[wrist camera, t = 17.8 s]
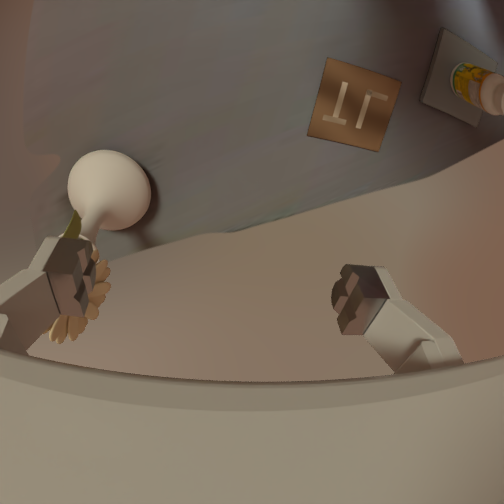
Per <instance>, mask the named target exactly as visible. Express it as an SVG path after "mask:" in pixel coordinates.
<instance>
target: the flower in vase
mask: <svg viewBox="0 0 504 504" xmlns="http://www.w3.org/2000/svg"><path fill="white" fill-rule="evenodd" d="M68 196H69V199H70V202H71V205H72V206H73V208H74V210H75V211H74V214H73V217H72V219H71V221H70V224H69V226H68V227H67V229H66V231H65V233H64V234H62V235H60V236H59V237H61V238H62V237H65V238H73V239H81V240H89V241H91V242H92V247H93V253H92V255H91V258H92V259H93V260H94V261H95V265H96V280H95V285H94V288H93V291H92V292H90V293H89V294H88V299H89V303H88V306H87V309H86V313H85V316H84V317H76V316H68V315H60V317H59V318H58V319H57V320H56V321H55V322H54V323H53V324H52V325H51V326H50V327H49V328H48V329H47V330H46V331H45V332H44V333H43V334H45V333H47V331H49V330H50V334H49V339H50V341H55V340H56V342H57V344H61V343H63V341H64V339H65V338H66V336H67V333H68V336H69V339H70V340H71V341H74V340H76V338H77V337H78V334H80V333H82V332H83V331H84V330H85V327H86V325H87V323H88V319H91V320H94V319H96V318H97V317H98V315H99V310H98V307H99V306H100V304H101V303H103V302H104V300H105V298H106V296H105V294H106V293H107V292H108V291H109V290H110V288H111V284H110V283H108V282H104V281H105V280H106V278H107V277H108V276H109V275H110V268H108V267H107V264H108V261H107V260H102V261H100V262H99V252H98V250H97V248H96V246H95V241H96V236H97V233H98V230H99V228H100V229H104V230H121V229H125V228H127V227H130V226H132V225H133V224H135V223H136V222H137V221H139V220H140V219H141V218H142V217H143V216H144V214H145V213H146V211H147V209H148V207H149V204H150V200H151V188H150V183H149V180H148V178H147V176H146V174H145V172H144V171H143V169H142V168H141V167H140V166H139V165H138V164H137V163H136V162H135V161H134V160H133V159H131V158H130V157H128V156H127V155H125V154H122V153H120V152H116V151H112V150H98V151H94V152H91V153H88V154H86V155H84V156H83V157H82V158H80V159H79V160H78V161H77V162H76V163H75V165H74V166H73V168H72V170H71V172H70V175H69V179H68ZM80 217H81V218H82V220H81V219H80ZM87 318H88V319H87Z"/></svg>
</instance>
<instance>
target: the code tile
mask: <svg viewBox="0 0 504 504" xmlns="http://www.w3.org/2000/svg"><path fill="white" fill-rule="evenodd" d="M401 83H402V82H400V81H397V80H395V79H392V78H390V77H387V76H384V75H381V74H379V73H376V72H373V71H370V70H367V69H364V68H361V67H358V66H355V65H352V64H348V63H345V62H342V61H338V60H335V59H331V58H328V57H327V61H326V65H325V69H324V73H323V77H322V80H321V84H320V88H319V92H318V96H317V99H316V103H315V107H314V111H313V114H312V118H311V122H310V125H309V129H308V133H307V136H313V137H317V138H322V139H327V140H332V141H336V142H340V143H345V144H349V145H353V146H357V147H362V148H366V149H369V150H373V151H377V152H378V151H379V149H380V146H381V143H382V140H383V137H384V134H385V132H386V129H387V126H388V123H389V120H390V117H391V114H392V111H393V108H394V105H395V102H396V99H397V96H398V92H399V89H400V86H401Z"/></svg>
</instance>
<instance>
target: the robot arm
mask: <svg viewBox="0 0 504 504" xmlns="http://www.w3.org/2000/svg"><path fill="white" fill-rule="evenodd" d="M92 253H93V247H92V242H91V241H89V240H81V239H73V238H65V237H62V238H61V237H54V236H48V237H46V238H45V240H44V242H43V243H42V245H41V247H40V248H39V250H38V252H37V253H36V255H35V257H34V259H33V260H32V262H31V264H30V266H29V268H28V269H27V270H26V269H23V270H22V271H20V272H19V273H17V274H16V275H14V276H13V277H11V278H10V279H8V280H7V281H5V282H4V283H2V284H1V285H0V504H504V355H502V356H498V357H494V358H490V359H485V360H480V361H475V362H470V363H465V364H464V362H463V360H462V358H461V356H460V353H459V351H458V349H457V347H456V345H455V343H454V341H453V339H452V338H451V337H450V336H449V335H448V334H447V333H446V332H444V331H443V330H442V329H441V328H440V327H438V326H437V325H436V324H435V323H434V322H433V321H431V320H430V319H429V318H428V317H427V316H425V315H424V314H423V313H422V312H421V311H419V310H418V309H417V308H416V307H414V306H413V305H412V304H411V303H409V302H408V301H407V300H403V299H402V297H401V295H400V293H399V291H398V289H397V287H396V285H395V283H394V282H393V280H392V278H391V276H390V274H389V272H388V270H387V269H386V268H385V267H382V266H363V265H350V264H346V265H345V266H344V267H343V268H342V270H341V272H340V274H341V277H342V278H341V279H340V280H338V281H337V282H336V283H335V284H334V287H333V289H332V296H331V300H332V305H333V309H334V310H335V311H336V312H337V313H338V314H339V316H338V318H337V321H338V325H339V328H340V331H341V333H342V335H363V337H364V338H365V339H366V340H367V341H368V342H369V344H370V345H371V346H372V347H373V348H374V349H375V350H376V351H377V353H378V354H379V355H380V356H381V357H382V358H383V359H384V361H385V362H386V363H387V364H388V365H389V366H390V367H391V369H392V370H393V371H394V372H395V373H394V374H393V375H385V376H376V377H365V378H352V379H338V380H321V381H295V382H294V381H292V382H241V381H240V382H239V381H213V380H195V379H181V378H169V377H158V376H148V375H140V374H131V373H123V372H116V371H109V370H102V369H96V368H89V367H83V366H78V365H72V364H67V363H61V362H56V361H51V360H46V359H42V358H37V357H33V356H29V355H28V353H27V352H26V350H27V349H28V348H29V347H30V346H31V345H32V344H33V343H34V342H35V341H36V340H37V339H38V338H39V337H40V335H42V334H43V333H44V332H45V331H46V330H47V329H48V328H49V327H50V326H51V325H52V324H53V323H54V322H55V321H56V320H57V319H58V318H59V317H60V315H68V316H76V317H84V316H85V313H86V309H87V306H88V303H89V299H88V294H89V293H90V292H92V291H93V288H94V285H95V280H96V265H95V261H94V260H93V259H92V258H91V255H92Z"/></svg>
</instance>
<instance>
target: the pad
mask: <svg viewBox="0 0 504 504" xmlns="http://www.w3.org/2000/svg"><path fill="white" fill-rule="evenodd" d="M459 63H470V64H472V65H475V66H478V67H481V68H484V69H486V70H489V71H492V72H494V73H495V72H496V69H497V65H498V63H497V62H495V61H494V60H493V59H491V58H490V57H488V56H487V55H486V54H484V53H483V52H481V51H480V50H478V49H477V48H475V47H474V46H472V45H471V44H469V43H467V42H466V41H464V40H463V39H461V38H459V37H458V36H456V35H454V34H453V33H451V32H449V31H448V30H446V29H444V28H441V29H440V33H439V37H438V41H437V44H436V48H435V51H434V55H433V58H432V62H431V65H430V69H429V72H428V75H427V78H426V82H425V85H424V88H423V91H422V94H421V97H420V100H419V101H420V102H422V103H425V104H427V105H429V106H432V107H434V108H436V109H439V110H441V111H443V112H445V113H447V114H450V115H452V116H454V117H456V118H458V119H460V120H462V121H464V122H466V123H468V124H470V125H472V126H474V127H476V128H477V126H478V123H479V120H480V118H481V115H482V112H483V110H482V109H480V108H478V107H476V106H474V105H473V104H471V103H469V102H467V101H465V100H463V99H461V98H459V97H458V96H456V94H455V93H454V92H453V90H452V87H451V82H450V77H451V73H452V71H453V69H454V68H455V67H456V66H457V65H458V64H459Z"/></svg>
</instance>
